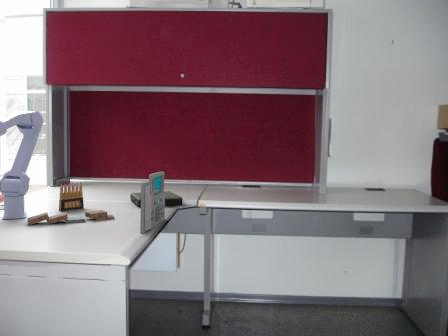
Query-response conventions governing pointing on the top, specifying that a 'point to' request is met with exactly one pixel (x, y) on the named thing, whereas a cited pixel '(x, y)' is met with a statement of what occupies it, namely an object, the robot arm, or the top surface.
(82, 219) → the charcoal domino
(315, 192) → the top surface
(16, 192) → the robot arm
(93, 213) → the walnut domino
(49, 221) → the walnut domino
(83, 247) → the top surface
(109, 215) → the walnut domino
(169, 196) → the network switch
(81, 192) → the ammunition clip
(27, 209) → the top surface
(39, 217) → the walnut domino
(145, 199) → the office telephone
